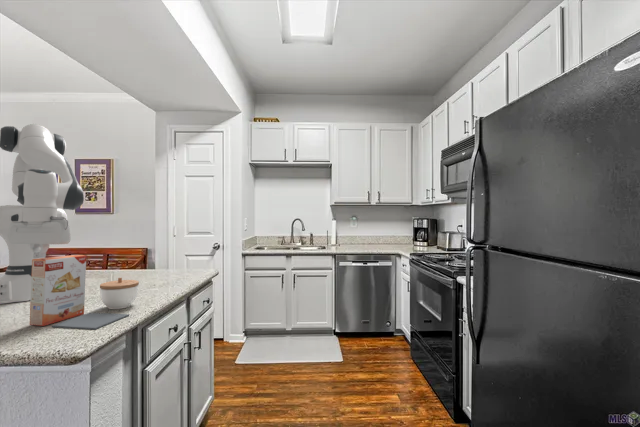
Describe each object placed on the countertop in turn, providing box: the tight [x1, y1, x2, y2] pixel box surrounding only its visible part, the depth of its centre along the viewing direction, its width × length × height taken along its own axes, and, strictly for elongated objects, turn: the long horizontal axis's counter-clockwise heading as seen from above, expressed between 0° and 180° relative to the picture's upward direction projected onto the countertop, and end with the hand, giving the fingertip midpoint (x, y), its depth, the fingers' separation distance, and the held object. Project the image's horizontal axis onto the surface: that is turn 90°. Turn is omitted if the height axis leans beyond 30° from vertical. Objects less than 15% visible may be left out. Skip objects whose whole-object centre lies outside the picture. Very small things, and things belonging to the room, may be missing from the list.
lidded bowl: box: [99, 277, 140, 310], centre depth 121 cm, size 13×13×11 cm
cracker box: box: [29, 254, 87, 327], centre depth 105 cm, size 14×6×21 cm, turn 168°
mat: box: [51, 312, 130, 330], centre depth 104 cm, size 15×14×1 cm
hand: (39, 257), depth 107 cm, fingers closed
